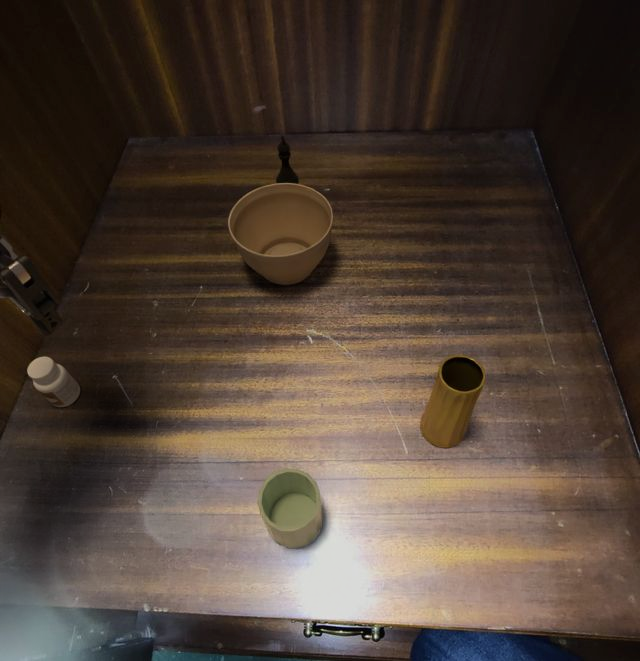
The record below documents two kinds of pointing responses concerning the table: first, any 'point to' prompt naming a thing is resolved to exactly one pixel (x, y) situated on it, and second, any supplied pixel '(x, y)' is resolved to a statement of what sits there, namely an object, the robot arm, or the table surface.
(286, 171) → the chess piece
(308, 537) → the cup
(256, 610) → the table surface
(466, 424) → the vase
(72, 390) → the pill bottle
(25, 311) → the robot arm
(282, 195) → the planter bowl
